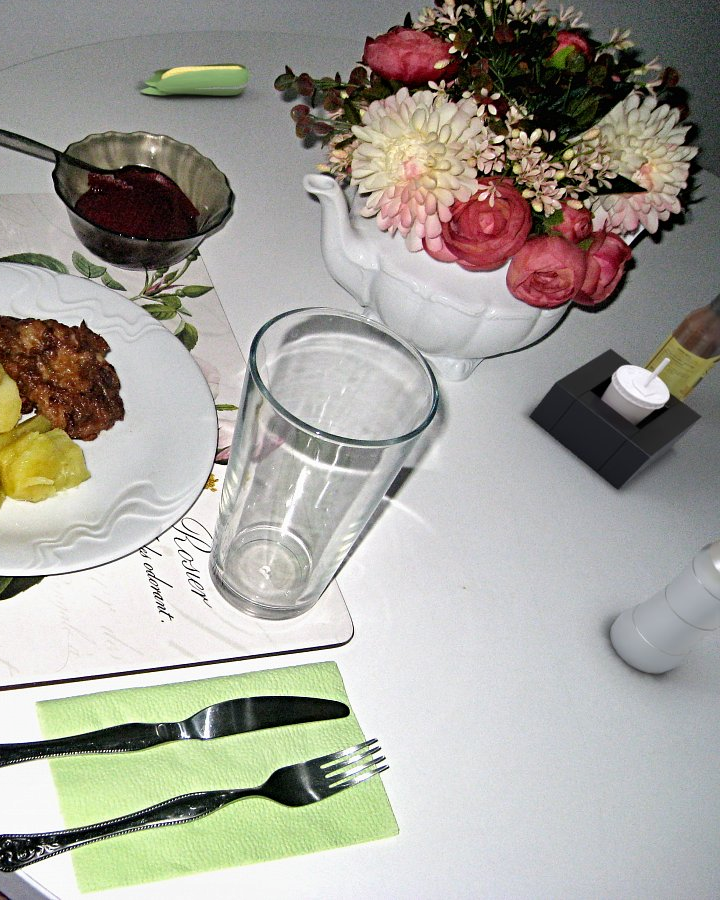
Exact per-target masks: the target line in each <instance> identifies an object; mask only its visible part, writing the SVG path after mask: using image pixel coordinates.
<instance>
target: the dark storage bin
mask: <svg viewBox="0 0 720 900" xmlns="http://www.w3.org/2000/svg"><path fill="white" fill-rule="evenodd" d="M624 365H633V364H632V363H631V362H629V361H628V360H627V359H625V358H624V357H623V356H622V355H620V354H619V353H617V352H616V351H615V350H614V349H612V348H609V349H607V350H606V351H604V352H602V353H601V354H599V355H598V356H596V357H594V358H593V359H591V360H589V361H588V362H586V363H584V364H582V365H581V366H580V367H578V368H577V369H575V370H573V371H572V372H570V373H568V374H567V375H565V376H564V377H562V378H560V379H558V380H557V381H555V383H554V384H552V386H551V388H550V389H549V390H548V391H547V393H546V394H545V395H544V396H543V398H542V399H541V400H540V401H539V403H538V404H537V405H536V407H535V408H534V409H533V411H532V412H531V413H530V414H529V415H528V418H529V419H530V420H532V421H533V422H534V423H535V424H537V426H539V427H540V428H541V429H543V430H544V432H546V433H548V434H549V435H550V436H551V437H552V438H554V439H555V441H557V442H558V443H560V444H561V445H562V446H563V447H564V448H565V449H567V450H568V451H569V452H570V453H572V454H573V455H574V456H575V457H576V458H578V459H579V460H580V461H581V462H583V463H584V464H585V465H586V466H587V467H589V468H590V469H591V470H592V471H594V472H595V473H596V474H597V475H598V476H599V477H601V478H602V479H603V480H605V481H606V482H607V483H608V484H610V485H611V486H612V487H613V488H614V489H615V490H616V491H619V490H620V489H622V488H623V487H624V486H626V485H627V484H628V483H630V482H631V481H632V480H633V479H634V478H635V477H637V476H638V475H640V474H641V473H642V472H643V471H644V470H646V469H647V468H648V467H649V466H651V465H652V464H653V463H655V462H656V461H657V460H659V459H660V458H662V457H663V456H664V455H665V454H666V453H667V452H669V451H670V450H671V449H672V448H673V447H674V446H675V445H676V444H677V443H678V442H679V441H680V440H681V439H683V437H684V436H685V435H686V434H687V433H688V432H689V431H690V430H692V428H693V427H694V426H695V425H696V424H697V423H698V422H699V421H700V420H701V419H702V417H703V416H702V415H700V414H699V413H698V412H697V411H695V410H694V409H693V408H691V407H690V406H688V404H686V403H684V401H683V402H682V401H680V400H679V399H678V398H676V397H675V396H674V395H672V394H671V393H670V392H669V395H670V396H669V399H668V401H667V402H666V403H665V404H664V406H663V407H661V408H659V409H655V410H654V411H652V412H651V413H650V414H649V415H648V416H646V417H645V418H644V419H643V420H641V421H640V422H639V423H638V424H636V425H633V424H632V423H631V422H630V421H628V420H627V419H626V418H624V417H623V416H622V415H621V414H619V413H618V412H617V411H615V410H614V409H613V408H612V407H610V406H609V405H608V404H606V403H605V402H604V401H603V400H601V398H602V396H603V395H604V393H605V391H606V390H607V388H608V386H609V385H610V383H611V382H612V375H613V374H614V372H616V371H617V370H618V369H619V368H620V367H621V366H624Z"/></svg>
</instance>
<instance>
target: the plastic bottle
mask: <svg viewBox="0 0 720 900" xmlns="http://www.w3.org/2000/svg"><path fill="white" fill-rule="evenodd" d="M718 629H720V539H719V540H715V541H713V542H710V543H707V544H706V545H704V546H703V547H702V548H701V549H700V550H699V551H698V552H697V553H696V554H695V555H694V556H693V557H692V559H691V560H690V561H689V562H688V563H687V565H686V566H685V567H684V568H683V570H682V571H681V572H680V573H679V574H678V575H676V576H675V578H673V579H672V580H671V581H670V583H668V584H667V585H665V587H664V588H663V589H662V590H660V591H658V592H657V593H655V594H653V595H652V596H651V597H649V598H647V599H646V600H644V601H643V602H641V603H638V604H635V605H634V606H632V607H629V608H628V609H626V610H625V611H623V612H622V613H620V614H619V616H618V617H617V618H616V619H615V621H614V622H613V624H612V625H611V626H610V642H611V644H612V647H613V648H614V650H615V652H616V653H617V655H618V656H619V657H620V658H621V659H622V660H623V661H624V662H625V663H627V664H628V665H629V666H631V667H633V668H634V669H636V670H638V671H640V672H644V673H647V674H655V675H656V674H663V673H665V672H668V671H670V670H673V669H676V668H677V667H679V666H680V665H681V664H682V663H683V662H684V661H685V660H686V659H687V658H688V657H689V655H690V654H691V652H692V651H693V650H694V649H695V648H696V647H697V646H698V645H700V643H702V641H703V640H705V639H706V638H707V637H708V636H709V635H711V633H713V632H715V631H716V630H718Z"/></svg>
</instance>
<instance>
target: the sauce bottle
mask: <svg viewBox="0 0 720 900" xmlns="http://www.w3.org/2000/svg"><path fill="white" fill-rule="evenodd" d="M665 358H668V359H670V362H669V363H668V364H667V365H666V366H665V367H664V368H663V369H662V371H661V372H660V373H659V374H658V375H657V377H658V378H660V379H661V380H662V381H663V382H664V384H665V385H666V386H667V388H668V390H669V392H670V393H671V394H672V395H674V396H675V397H676V398H678V399H679V400H680V401H682V402H683V403H684V401H685V400H686V398H687V397H689V395H690V394H691V393H692V392H693V391H694V390H695V388H697V386H698V385H699V384H701V382H702V381H703V380H704V379H705V378H706V377H707V375H708V374H709V373H710V372H711V371H712V370H713V369H714V367H716V365H717V364H718V363H719V362H720V292H718V294H717V295H716V296H715V297H714V298H712V300H711V301H710V302H709V303H708V304H706V305H705V306H702V307H700V308H696V309H694V310H692V311H690V313H688V314H687V315H686V316H685V317H684V318H683V320H682V321H681V322H680V323H679V325H678V326H677V327H676V328H675V329H673V330H672V332H671V333H670V334H669V335H668V337H667V338H665V340H664V341H663V342H662V343H661V344H660V346H659V347H658V349H656V351H655V352H654V353H653V355H652V356H651V357H650V358H649V359H648V361H647V362H646V363H645V364H644V365H643V366H642V368H644V369H646V370H648V371H650V372H652V373H653V372H654V371H655V369H656V368H657V367H658V366H659V365H660V364H661V363H662V362H663V360H664V359H665Z"/></svg>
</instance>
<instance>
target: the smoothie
mask: <svg viewBox="0 0 720 900" xmlns="http://www.w3.org/2000/svg"><path fill="white" fill-rule="evenodd" d="M669 362H670V359H668V358H665V359H664V360H663V362H662V363H661V364H660V365H659V366H658V367H657V368H656V369H655V371H654V372H653V373H652V372H650V371H648V370H646V369H644V368H643V367H641V366H639V365H633V364H632V365H624V366H621V367H620V368H619V369H618V370H617V371H616V372H614V374H613V375H612V382H611V383H610V385H609V386H608V388H607V390H606V391H605V393H604V395H603V396H602V398H601V400H603V401H604V402H605V403H606V404H608V405H609V406H610V407H612V408H613V409H614V410H615V411H617V412H618V413H619V414H621V415H622V416H623V417H624V418H626V419H627V420H628V421H630V422H631V423H632V424H633V425H636V424H638V423H639V422H640V421H641V420H643V419H644V418H645V417H646V416H648V415H649V414H650V413H651V412H652V411H654V410H655V409H659V408H661V407H663V406H664V404H665V403H666V402H667V401H668V399H669V396H670V395H669V390H668V388H667V386H666V385H665V384H664V382H663V381H662V380H661V379H660V378H658V377H657V375H658V374H659V373H660V372H661V371H662V369H663V368H664V367H665V366H666V365H667V364H668V363H669Z"/></svg>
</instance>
